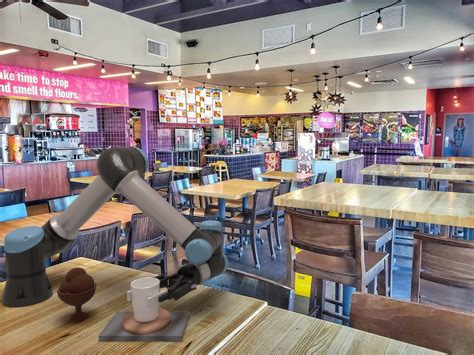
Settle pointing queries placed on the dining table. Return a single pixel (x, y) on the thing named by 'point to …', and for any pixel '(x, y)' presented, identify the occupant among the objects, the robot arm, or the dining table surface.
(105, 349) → the dining table surface
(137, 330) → the serving stand
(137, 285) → the white cup
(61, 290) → the ice cream bowl
